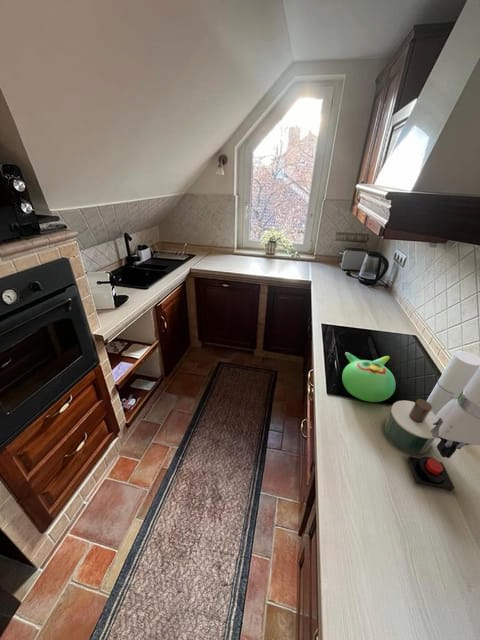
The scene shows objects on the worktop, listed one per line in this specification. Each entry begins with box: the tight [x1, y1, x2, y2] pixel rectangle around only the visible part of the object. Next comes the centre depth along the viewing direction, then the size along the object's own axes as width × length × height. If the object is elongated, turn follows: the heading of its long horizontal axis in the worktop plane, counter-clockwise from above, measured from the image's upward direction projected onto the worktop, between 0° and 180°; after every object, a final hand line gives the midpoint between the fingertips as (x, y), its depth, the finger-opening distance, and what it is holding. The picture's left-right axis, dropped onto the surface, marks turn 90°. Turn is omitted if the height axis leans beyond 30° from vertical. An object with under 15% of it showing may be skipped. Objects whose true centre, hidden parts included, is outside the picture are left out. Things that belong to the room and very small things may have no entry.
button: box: [425, 458, 443, 475], centre depth 70 cm, size 4×4×2 cm
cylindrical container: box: [426, 350, 480, 415], centre depth 85 cm, size 7×7×25 cm
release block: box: [406, 455, 455, 492], centre depth 71 cm, size 9×7×4 cm
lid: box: [390, 398, 437, 439], centre depth 77 cm, size 14×14×7 cm
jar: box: [384, 412, 437, 455], centre depth 81 cm, size 13×13×8 cm
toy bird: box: [341, 351, 397, 403], centre depth 95 cm, size 18×17×15 cm
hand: (442, 452), depth 67 cm, fingers closed
